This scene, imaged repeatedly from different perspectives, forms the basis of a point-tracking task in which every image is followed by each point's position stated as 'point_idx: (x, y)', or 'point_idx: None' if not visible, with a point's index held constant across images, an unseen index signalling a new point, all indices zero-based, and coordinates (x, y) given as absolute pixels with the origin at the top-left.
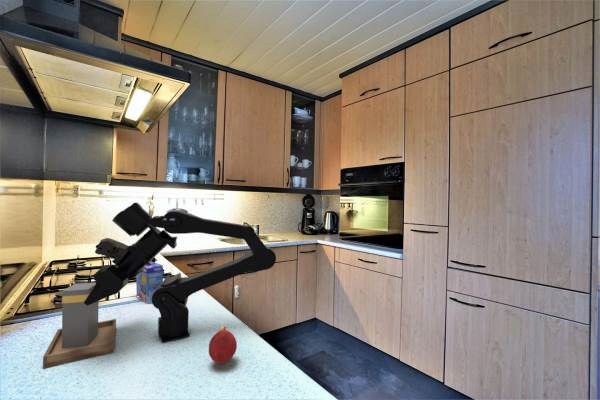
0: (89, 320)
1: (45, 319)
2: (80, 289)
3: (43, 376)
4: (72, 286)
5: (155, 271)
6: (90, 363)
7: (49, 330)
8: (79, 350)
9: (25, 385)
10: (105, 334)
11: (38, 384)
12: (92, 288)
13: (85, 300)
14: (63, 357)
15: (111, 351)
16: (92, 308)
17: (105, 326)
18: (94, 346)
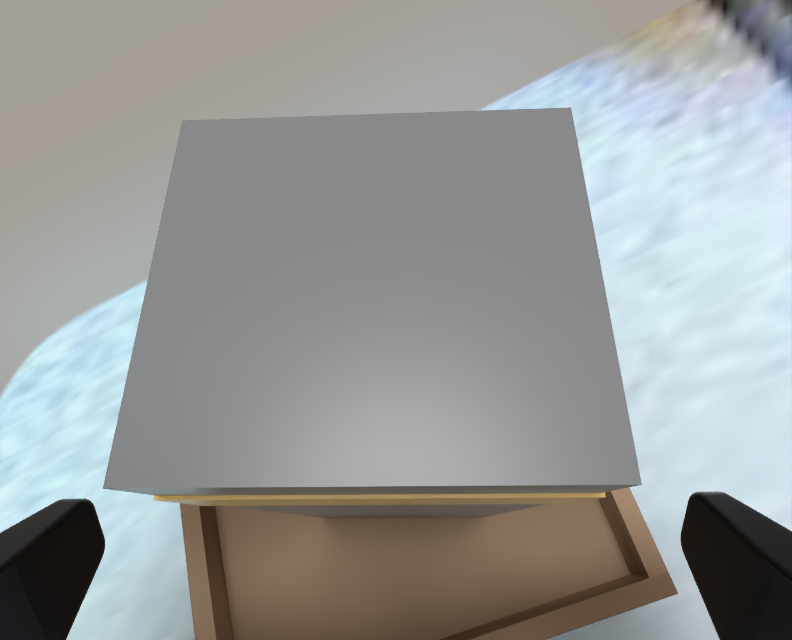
0: (314, 512)
1: (775, 104)
2: (160, 338)
3: (114, 415)
4: (402, 140)
5: None
6: (148, 612)
7: (629, 191)
8: (185, 524)
9: (67, 378)
10: (472, 575)
11: (47, 430)
12: (314, 490)
13: (13, 529)
14: None
15: None
16: (364, 508)
17: (608, 520)
18: (195, 613)
